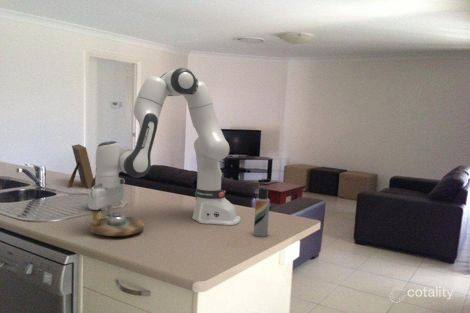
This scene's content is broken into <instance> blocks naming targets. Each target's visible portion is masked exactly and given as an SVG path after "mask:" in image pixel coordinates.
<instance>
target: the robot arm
mask: <svg viewBox="0 0 470 313" xmlns="http://www.w3.org/2000/svg"><path fill="white" fill-rule="evenodd" d="M177 96H183V97H184V99H185V101H186V104H187V108H188V112H189V116H190V119H191V123H192V126H193V129H195V132H196V134H197V136H198V137H196V139H195V140H194V143H193V148H194V152H195V159H196V166H197V180H196V181H197V182H196V188H195V206H194V210H193V214H192V217H191V218H192V219H193V220H194V221H196V222H198V223H199V224H207V225H224V226H235V225H238V224H239V223H240V222H241V216H239V215H237V209H236V207H235V205H234V204H233V203H231V201H229V200H228V199H226V196H225V194H226V190H223V189H222V170H221V167H220V160H224V159H225V158H226V157H228V155H229V154H230V145H229V142H228V141H227V140H226V138H225V136H224V133H223V131H222V129H221V126H220V125H219V122H218V119H217V115H216V111H215V107H214V104H213V103H214V102H213V101H212V99H213V98H212V97H211V94H210V90H209V89H208V87H207V84H206V83H205V82H204V81H201V80H198V78H197V77H196V76H195V74H194V73H193V72H192V71H191V70H190V69H188V68H185V67H183V68H182V67H181V68H175V69H172V70H170V71H168V72H165V73H163V74H162V75H161V76H160V77H159V76H156V75H151V76H149V77H147V78H146V79H145V80H144V82H143V84H142V85H141V87H140V89H139V91H138V94H137V97H136V99H135V102H134V105H133V115H134V118H135V120H137V123H138V125H139V130H138V136H137V139H136V142H135V146H134V149H130V148H127V147H126V146H125V147H124V146H123V145H121V144H119V143H118V142H117V141H112V140H111V141H104V142H103V141H102V142H101V143H99V144H98V145H97V147H96V151H95V175H94V178H95V185H94V186H93V188H92V189H91V188H90V191H89V193H88V204H87V205H88V209H89V210H91V209H92V210H98V209H100V208H101V210H102V211H101V213H102V218H107V216H108V215H111V211H112V208H113V204H116V203H118V202H119V203H120V202H121V201H123V199H124V195H125V185H124V184H125V183H126V181H125V179H124V178H123V177H120V173H125V174H127V175H129V177H132V178H135V179H139V178H142V177H145V176H146V175H147V174H148V173H149V171H150V169H151V165H152V164H151V163H152V160H151V154H152V150H153V149H152V148H153V146H154V141H155V138H156V134H157V130H158V124H159V119H160V116H161V113H162V109H163V106H164V104H165V100H166V99H167V97H177ZM96 168H97V170H96ZM92 210H91V211H92Z"/></svg>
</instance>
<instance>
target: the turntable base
mask: <svg viewBox="0 0 470 313" xmlns="http://www.w3.org/2000/svg"><path fill="white" fill-rule="evenodd" d="M132 235H133V234H130V235H123V236H106V235H101V236H103V237H107V238H123V237H128V236H132Z"/></svg>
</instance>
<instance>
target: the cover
mask: <svg viewBox="0 0 470 313" xmlns="http://www.w3.org/2000/svg"><path fill="white" fill-rule="evenodd" d="M126 217H127V215H126V214H123V213H121V212H112V214H111V213H110V215H108V216H106V218H107V224H108V225H110V226H121V225H125V224H126Z"/></svg>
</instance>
